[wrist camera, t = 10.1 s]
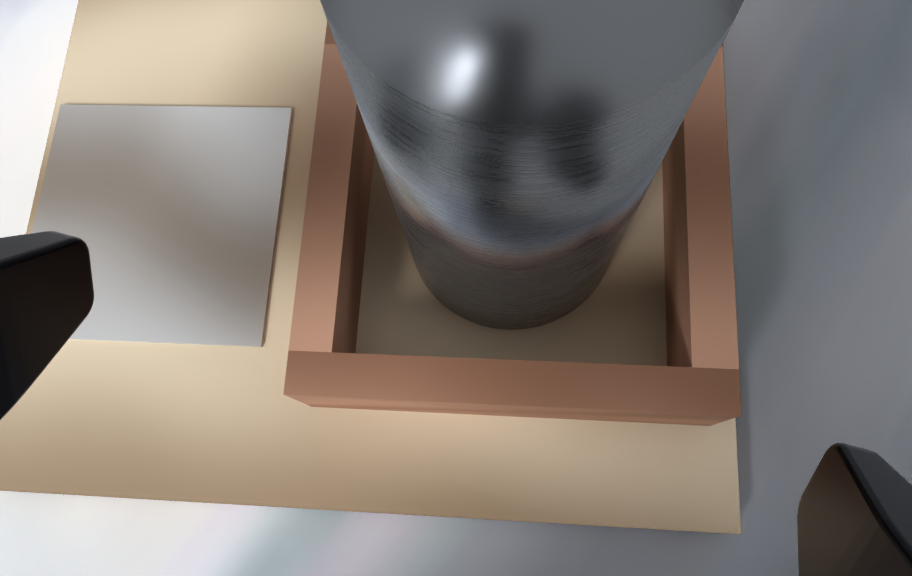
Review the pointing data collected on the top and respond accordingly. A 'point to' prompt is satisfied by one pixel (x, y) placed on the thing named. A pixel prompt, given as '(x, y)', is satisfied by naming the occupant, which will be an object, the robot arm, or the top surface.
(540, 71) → the dark grey cylinder
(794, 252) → the top surface
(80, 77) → the wooden board with frame
